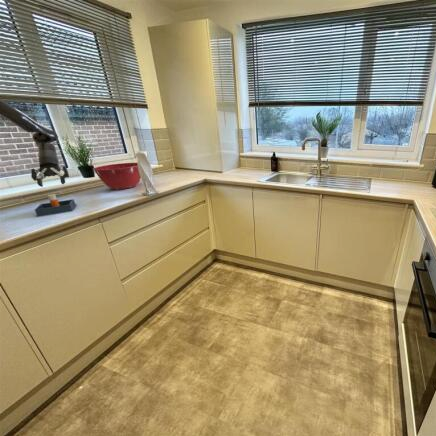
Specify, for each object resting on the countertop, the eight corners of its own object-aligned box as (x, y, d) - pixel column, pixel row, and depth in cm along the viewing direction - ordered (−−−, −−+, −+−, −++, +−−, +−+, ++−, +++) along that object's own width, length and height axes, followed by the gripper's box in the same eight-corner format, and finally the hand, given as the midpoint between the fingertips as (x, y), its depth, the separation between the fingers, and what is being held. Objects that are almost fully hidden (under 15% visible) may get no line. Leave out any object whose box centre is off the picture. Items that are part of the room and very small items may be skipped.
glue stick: (52, 211, 123) (45, 195, 120) (56, 209, 126) (50, 194, 122) (58, 211, 123) (52, 195, 120) (62, 209, 126) (56, 193, 123)
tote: (38, 218, 117) (34, 209, 116) (44, 211, 126) (40, 203, 124) (72, 212, 124) (69, 204, 122) (76, 206, 132) (73, 199, 131)
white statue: (141, 194, 152) (128, 149, 142) (153, 191, 159) (142, 147, 148) (147, 196, 148) (135, 149, 137) (160, 193, 154) (149, 148, 144)
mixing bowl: (90, 191, 162) (81, 168, 157) (127, 181, 188) (121, 161, 182) (121, 194, 154) (113, 170, 149) (156, 183, 180) (151, 162, 174)
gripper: (26, 156, 124) (29, 182, 119) (62, 154, 131) (66, 178, 127) (34, 165, 130) (37, 190, 126) (68, 163, 137) (72, 186, 133)
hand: (52, 184), depth 126 cm, fingers open, 8 cm apart
